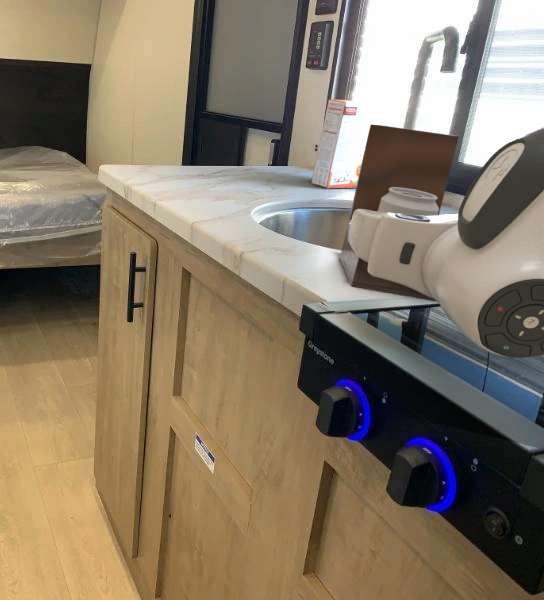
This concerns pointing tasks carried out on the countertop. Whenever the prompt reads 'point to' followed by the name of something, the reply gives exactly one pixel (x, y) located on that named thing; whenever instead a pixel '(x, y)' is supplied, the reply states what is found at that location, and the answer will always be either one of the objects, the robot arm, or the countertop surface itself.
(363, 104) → the cracker box
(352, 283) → the chest
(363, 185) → the lid
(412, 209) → the can
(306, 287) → the countertop surface
